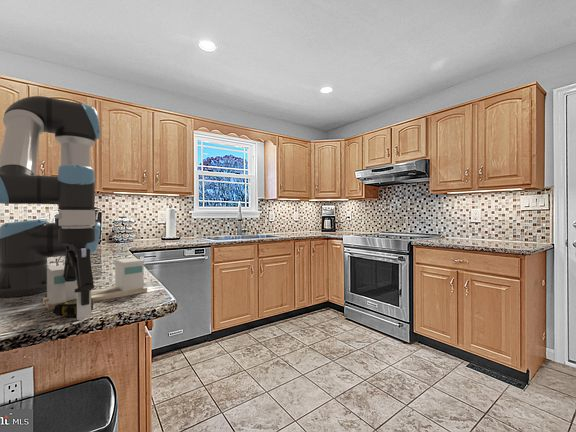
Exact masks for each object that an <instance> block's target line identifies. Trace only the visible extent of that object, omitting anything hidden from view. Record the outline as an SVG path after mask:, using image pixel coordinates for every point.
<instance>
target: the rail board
mask: <svg viewBox="0 0 576 432" xmlns="http://www.w3.org/2000/svg"><path fill="white" fill-rule="evenodd" d="M147 292H148V288H147V286H144V288H141V289H135V290H130V291H124V292H123V291H121V289H120V288H118V287H117V288H116V287H115V285H114V286H109V287H103V288H97V289H92V290H91V298H92V299H93V303H95V302H101V301H105V300H109V299H117V298H122V297H126V296H132V295H138V294H142V293H147ZM42 303H43V304H44V306H45V308H46V309H47V310H48V311H51V310H53V309H54V308H55V306H56V305H58V304H60V303H56V304H51V303H50V300H49V299H47V296H46V297H43V298H42ZM61 303H63V302H61Z"/></svg>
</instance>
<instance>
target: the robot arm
mask: <svg viewBox="0 0 576 432" xmlns="http://www.w3.org/2000/svg"><path fill="white" fill-rule="evenodd" d="M2 120H3V121H2V122H3V124H4V127H5V130H4V131H5V132H4V136H3V141H2V145H1V149H0V204H3V205H4V204H5V205H58V207H57V208H58V209H57V210H58V212H57V214H55V216H54V217H55V218H54V220H55V222H49V221H48V220H47V218H41V219H39V218H38V219H31V220H22V221H14V222H13V221H11V222H6V223H4V224H2V225H0V298H15V297H24V296H29V295H34V294H40V293H44V292H47V267H49V266H48V258H55V257H56V258H57V257H58V258H59V257H64V264H63V265H64V275H63V277H64V278H65V281H67V282H65V302H66V301H69V300H73V299H77V316H76V320H77V321H80V320H84V319H89V318H92V311H91V290H94V289H95V285H94V276H93V269H92V262H91V255H92V254H94V253H96V252H97V250H98V247H99V242H100V236H101V222H99V221H97V219H96V218H97V217H96V210H95V209H96V208H95V201H96V198H95V197H96V195H95V194H96V190H95V188H96V178H95V170H94V168H93V167H91V147H93V146H95V144H96V140H99V139H100V138H101V130H100V129H101V128H100V121H99V116H98V112H97V109H96V108H95V107H94V106H92V105H88V104H84V103H81V102H75V101H69V100H64V99H58V98H53V97H49V96H43V95H34V96H27V97H24V98H20V99H18V100H16V101H14V102H13V103H12V104H10V105H9V106H8V107H7V109H6V110H5V112H4V115H3V118H2ZM43 133H48V134H53V135H54V139H55V141H57V142H58V143H59V144H60V166H59V167H58V172H57V176H56V175H55V176H54V175H38V174H36V171H37V162H38V152H39V141H40V135H42V134H43ZM75 280H76V281H75Z"/></svg>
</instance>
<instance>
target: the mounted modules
mask: <svg viewBox="0 0 576 432" xmlns="http://www.w3.org/2000/svg"><path fill="white" fill-rule="evenodd" d="M114 261H115V262H114V264H115V265H114V267H115V268H114V269H115V270H114V273H115V275H114V286H115V287H116V288H117V287H118V288H120V289H121V291H123V292H124V291H130V290H135V289H141V288H144V287H145V286H144V283H145V280H144V279H145V278H144V275H145V274H144V261H145V260H143V259H140V258H136V257H133V258H131V257H130V258H122V259H121V258H119V259H115V260H114ZM64 265H65V264H61V265H52V266H48V267H47V291H46V297H47V299H49V300H50V303H51V304H56V303H61V302H65V282H67V281H65V278H64V277H63V275H64ZM75 281H76V280H75Z"/></svg>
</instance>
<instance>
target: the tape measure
mask: <svg viewBox="0 0 576 432" xmlns="http://www.w3.org/2000/svg"><path fill="white" fill-rule="evenodd" d="M93 310H94V302H93V299H92V298H91V312H92V311H93ZM52 312H53V314H54V315H55V316H56V317H68V318H70V317H77V299H73V300H69V301H66V302H63V303H60V304H58V305H56V306H55V308H54V309H53V311H52Z"/></svg>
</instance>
